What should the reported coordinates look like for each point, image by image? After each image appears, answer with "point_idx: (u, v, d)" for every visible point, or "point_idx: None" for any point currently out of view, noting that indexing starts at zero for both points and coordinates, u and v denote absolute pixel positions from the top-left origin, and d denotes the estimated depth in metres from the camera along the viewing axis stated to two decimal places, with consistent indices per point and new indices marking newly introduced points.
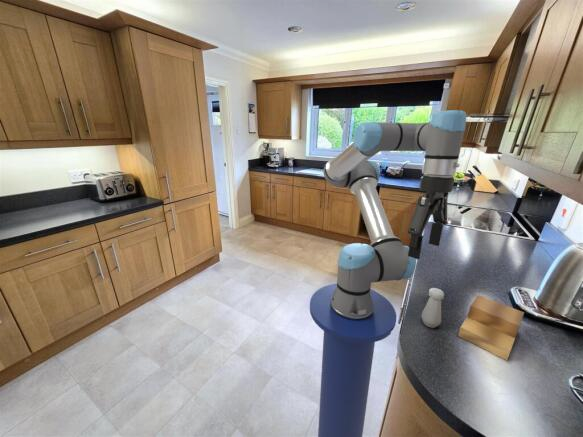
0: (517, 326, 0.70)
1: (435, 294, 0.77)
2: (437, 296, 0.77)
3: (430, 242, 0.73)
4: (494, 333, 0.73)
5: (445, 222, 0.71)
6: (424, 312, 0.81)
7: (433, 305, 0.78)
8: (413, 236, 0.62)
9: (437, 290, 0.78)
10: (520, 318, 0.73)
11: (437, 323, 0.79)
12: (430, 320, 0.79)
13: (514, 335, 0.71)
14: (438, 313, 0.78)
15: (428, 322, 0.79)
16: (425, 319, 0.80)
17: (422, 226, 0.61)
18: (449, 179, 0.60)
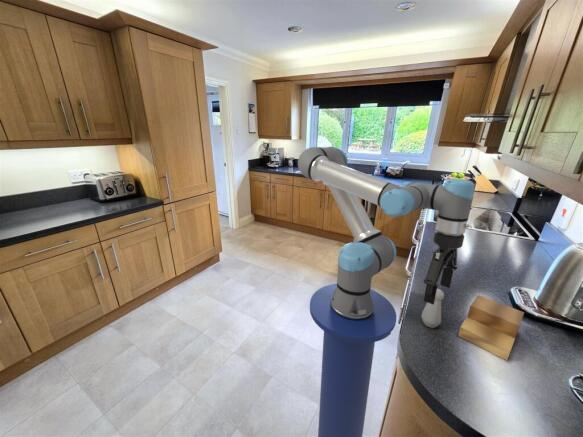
0: (517, 326, 0.70)
1: None
2: (437, 296, 0.77)
3: (442, 284, 0.83)
4: (494, 333, 0.73)
5: (455, 267, 0.80)
6: (424, 312, 0.81)
7: (433, 305, 0.78)
8: (429, 285, 0.71)
9: (437, 290, 0.78)
10: (520, 318, 0.73)
11: (437, 323, 0.79)
12: (430, 320, 0.79)
13: (514, 335, 0.71)
14: (438, 313, 0.78)
15: (428, 322, 0.79)
16: (425, 319, 0.80)
17: (437, 277, 0.71)
18: (460, 237, 0.69)
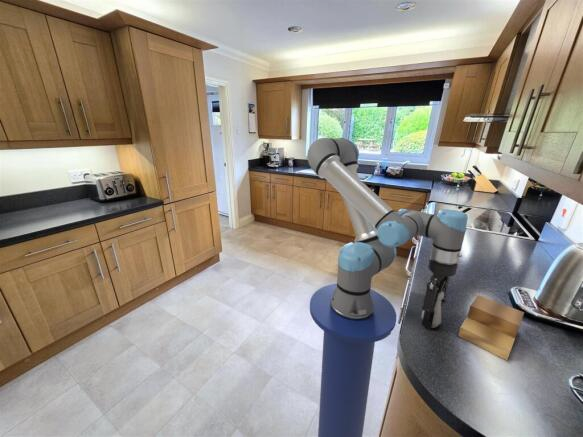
0: (517, 326, 0.70)
1: None
2: None
3: None
4: (494, 333, 0.73)
5: (444, 300, 0.81)
6: None
7: None
8: (426, 311, 0.77)
9: None
10: (520, 318, 0.73)
11: (437, 323, 0.79)
12: None
13: (514, 335, 0.71)
14: (438, 313, 0.78)
15: None
16: None
17: (433, 305, 0.76)
18: (453, 266, 0.72)
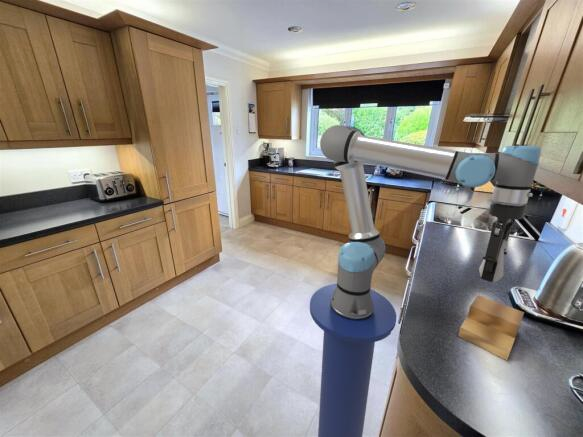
0: (517, 326, 0.70)
1: None
2: None
3: None
4: (494, 333, 0.73)
5: (505, 252, 0.74)
6: (483, 265, 0.74)
7: None
8: (489, 262, 0.70)
9: None
10: (520, 318, 0.73)
11: (499, 276, 0.71)
12: None
13: (514, 335, 0.71)
14: (501, 264, 0.71)
15: None
16: None
17: None
18: (522, 207, 0.65)
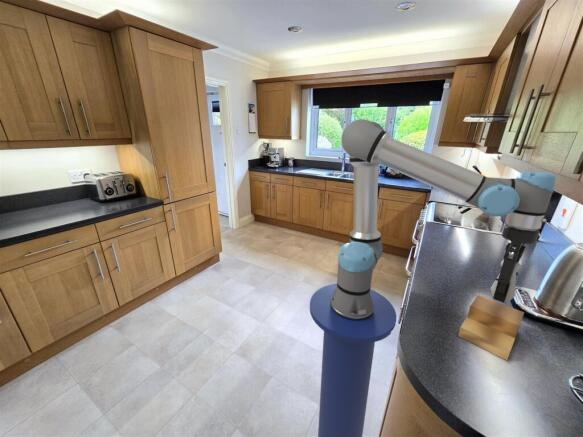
0: (517, 326, 0.70)
1: None
2: None
3: None
4: (494, 333, 0.73)
5: (516, 273, 0.76)
6: (495, 285, 0.75)
7: None
8: (501, 283, 0.72)
9: None
10: (520, 318, 0.73)
11: (511, 296, 0.73)
12: None
13: (514, 335, 0.71)
14: (513, 286, 0.73)
15: None
16: None
17: None
18: (536, 232, 0.66)
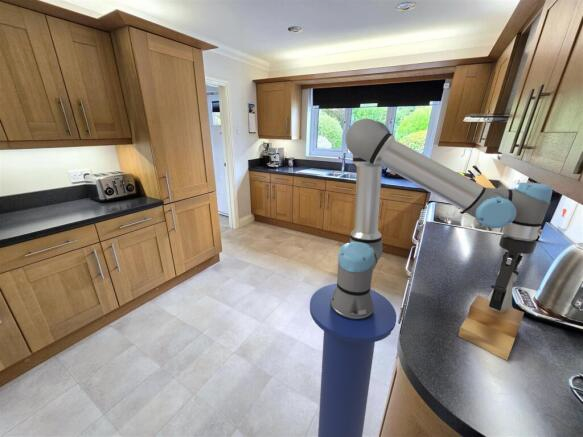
0: (517, 326, 0.70)
1: None
2: (510, 278, 0.72)
3: None
4: (494, 333, 0.73)
5: (517, 272, 0.78)
6: None
7: None
8: (497, 291, 0.70)
9: None
10: (520, 318, 0.73)
11: (508, 307, 0.74)
12: None
13: (514, 335, 0.71)
14: (509, 296, 0.74)
15: None
16: None
17: None
18: (533, 243, 0.67)
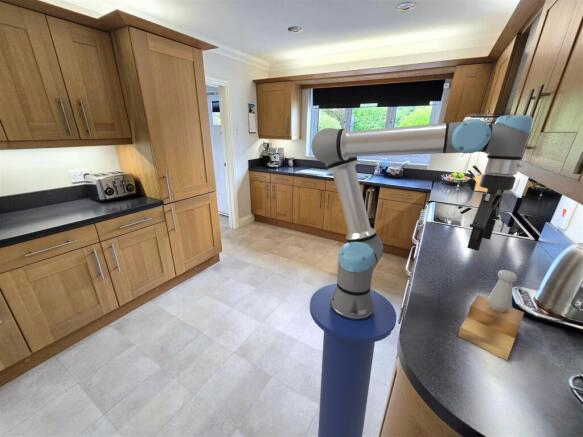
0: (517, 326, 0.70)
1: (507, 276, 0.72)
2: (510, 278, 0.72)
3: None
4: (494, 333, 0.73)
5: (498, 217, 0.77)
6: (492, 296, 0.76)
7: (504, 287, 0.74)
8: (475, 229, 0.68)
9: (508, 272, 0.74)
10: (520, 318, 0.73)
11: (508, 307, 0.74)
12: (500, 304, 0.74)
13: (514, 335, 0.71)
14: (509, 296, 0.74)
15: (497, 306, 0.75)
16: (494, 303, 0.76)
17: (485, 220, 0.67)
18: (512, 178, 0.66)
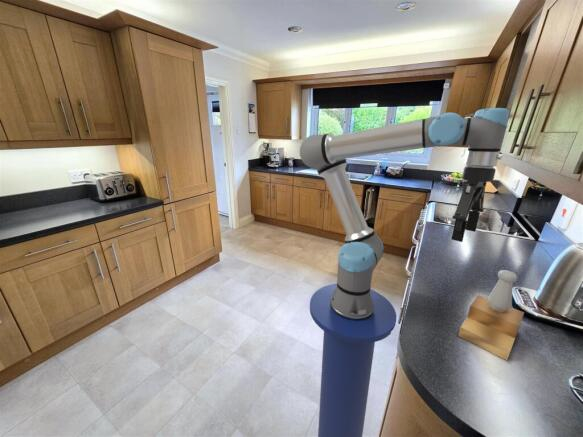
0: (517, 326, 0.70)
1: (507, 276, 0.72)
2: (510, 278, 0.72)
3: (467, 228, 0.81)
4: (494, 333, 0.73)
5: (482, 210, 0.78)
6: (492, 296, 0.76)
7: (504, 287, 0.74)
8: (458, 221, 0.69)
9: (508, 272, 0.74)
10: (520, 318, 0.73)
11: (508, 307, 0.74)
12: (500, 304, 0.74)
13: (514, 335, 0.71)
14: (509, 296, 0.74)
15: (497, 306, 0.75)
16: (494, 303, 0.76)
17: (467, 212, 0.69)
18: (492, 169, 0.67)
